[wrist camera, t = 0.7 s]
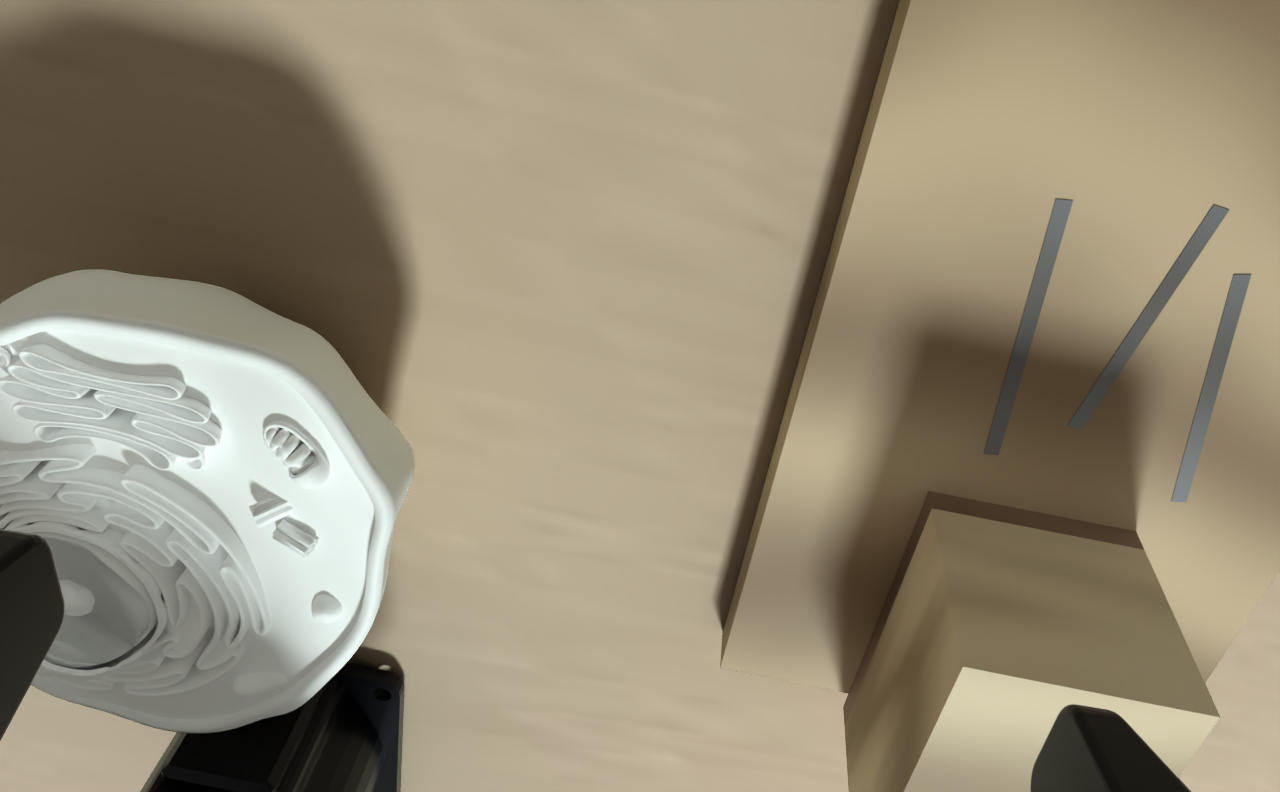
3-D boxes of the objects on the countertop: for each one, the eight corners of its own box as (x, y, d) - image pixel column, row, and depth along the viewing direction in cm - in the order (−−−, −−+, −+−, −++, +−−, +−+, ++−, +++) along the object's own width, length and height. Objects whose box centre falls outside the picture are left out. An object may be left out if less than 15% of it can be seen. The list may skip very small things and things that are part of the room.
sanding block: (1020, 741, 26) (1066, 936, 21) (843, 706, 26) (855, 893, 22) (1136, 531, 22) (1220, 717, 18) (928, 490, 22) (962, 666, 18)
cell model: (560, 457, 24) (492, 674, 18) (229, 636, 29) (93, 853, 23) (250, 99, 20) (44, 234, 15) (-73, 372, 25) (-324, 555, 19)
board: (1142, 716, 26) (1157, 754, 25) (722, 633, 27) (719, 668, 25) (1608, -14, 17) (1663, 1, 16) (937, -138, 17) (948, -130, 16)
